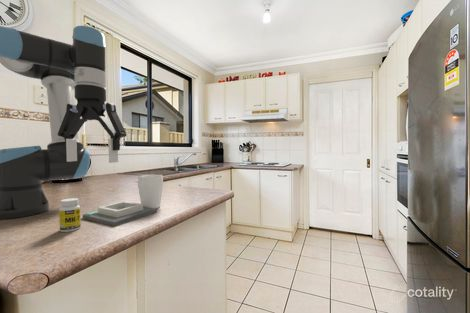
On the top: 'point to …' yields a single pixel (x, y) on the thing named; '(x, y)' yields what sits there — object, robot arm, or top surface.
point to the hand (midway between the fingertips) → (92, 161)
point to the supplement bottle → (69, 215)
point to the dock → (119, 213)
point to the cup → (150, 190)
